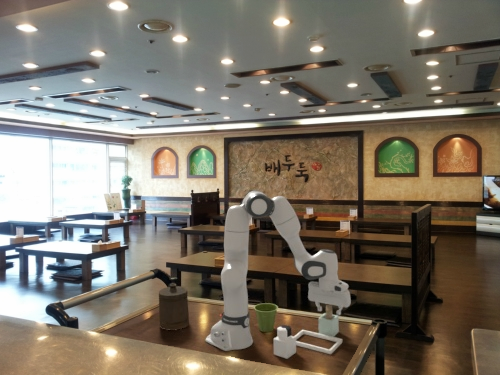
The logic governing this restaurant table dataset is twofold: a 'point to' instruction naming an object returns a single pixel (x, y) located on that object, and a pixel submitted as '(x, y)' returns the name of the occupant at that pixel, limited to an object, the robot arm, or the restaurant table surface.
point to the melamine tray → (324, 350)
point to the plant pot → (266, 316)
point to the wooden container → (173, 307)
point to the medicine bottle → (284, 342)
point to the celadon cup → (328, 325)
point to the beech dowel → (329, 311)
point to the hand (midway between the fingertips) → (329, 312)
